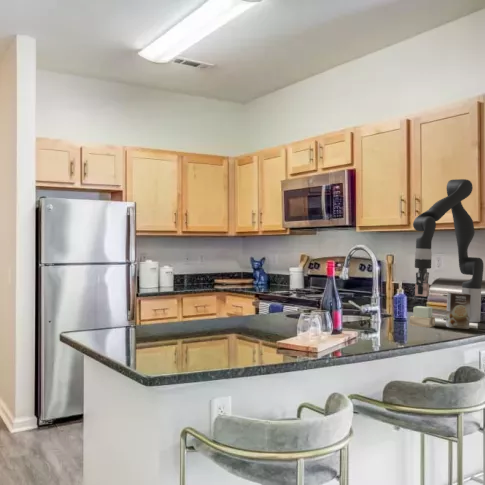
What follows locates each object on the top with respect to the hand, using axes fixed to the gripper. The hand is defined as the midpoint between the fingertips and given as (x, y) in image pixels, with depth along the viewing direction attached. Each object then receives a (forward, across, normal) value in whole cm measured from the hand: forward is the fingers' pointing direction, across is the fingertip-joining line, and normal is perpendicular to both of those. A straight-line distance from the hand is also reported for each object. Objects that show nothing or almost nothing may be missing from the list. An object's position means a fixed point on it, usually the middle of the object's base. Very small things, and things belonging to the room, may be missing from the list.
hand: (421, 293), depth 257 cm
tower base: (+15, 0, +1) cm, 15 cm away
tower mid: (+11, 0, +1) cm, 11 cm away
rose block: (+1, 0, 0) cm, 1 cm away
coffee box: (+15, -7, +15) cm, 23 cm away
